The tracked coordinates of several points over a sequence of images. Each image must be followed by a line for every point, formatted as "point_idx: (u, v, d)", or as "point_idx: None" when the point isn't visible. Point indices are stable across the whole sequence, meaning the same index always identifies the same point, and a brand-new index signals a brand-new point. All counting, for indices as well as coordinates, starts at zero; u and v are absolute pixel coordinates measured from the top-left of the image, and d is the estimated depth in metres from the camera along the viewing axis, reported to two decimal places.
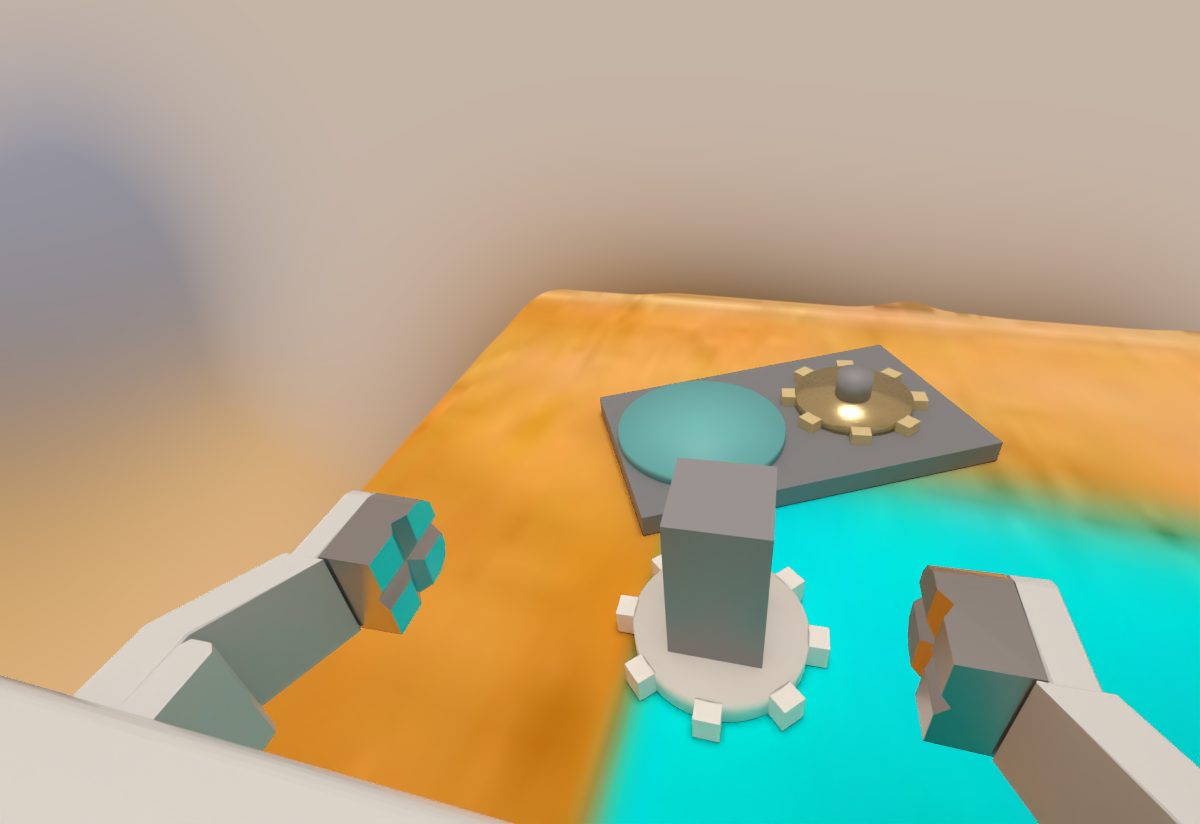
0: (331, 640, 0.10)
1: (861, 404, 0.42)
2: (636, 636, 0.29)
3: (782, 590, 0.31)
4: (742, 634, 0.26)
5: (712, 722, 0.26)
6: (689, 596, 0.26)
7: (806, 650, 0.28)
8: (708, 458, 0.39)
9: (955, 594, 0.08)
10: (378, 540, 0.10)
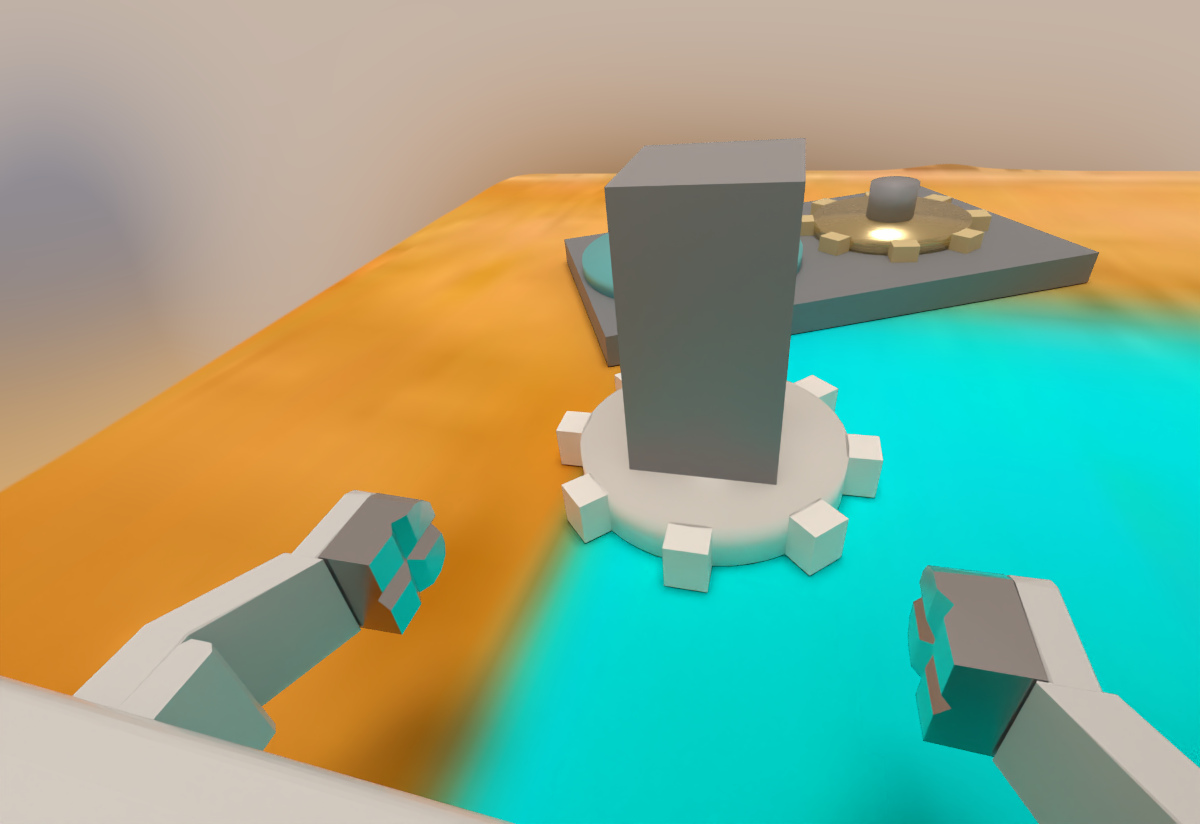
0: (331, 640, 0.10)
1: (902, 222, 0.32)
2: (583, 454, 0.19)
3: (804, 398, 0.21)
4: (746, 417, 0.16)
5: (695, 552, 0.16)
6: (659, 346, 0.16)
7: (845, 462, 0.18)
8: None
9: (955, 594, 0.08)
10: (378, 540, 0.10)
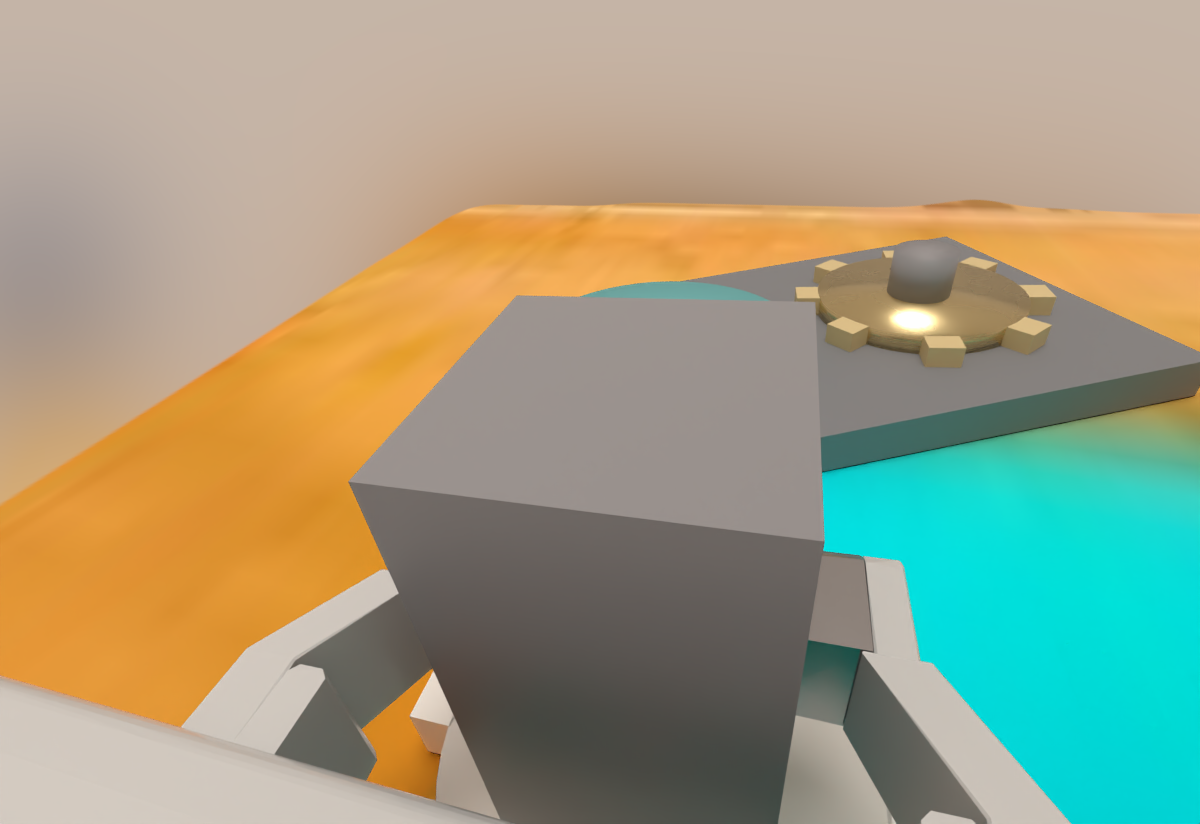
0: (426, 661, 0.09)
1: (936, 304, 0.24)
2: (440, 786, 0.11)
3: None
4: None
5: None
6: (525, 724, 0.08)
7: None
8: None
9: None
10: None
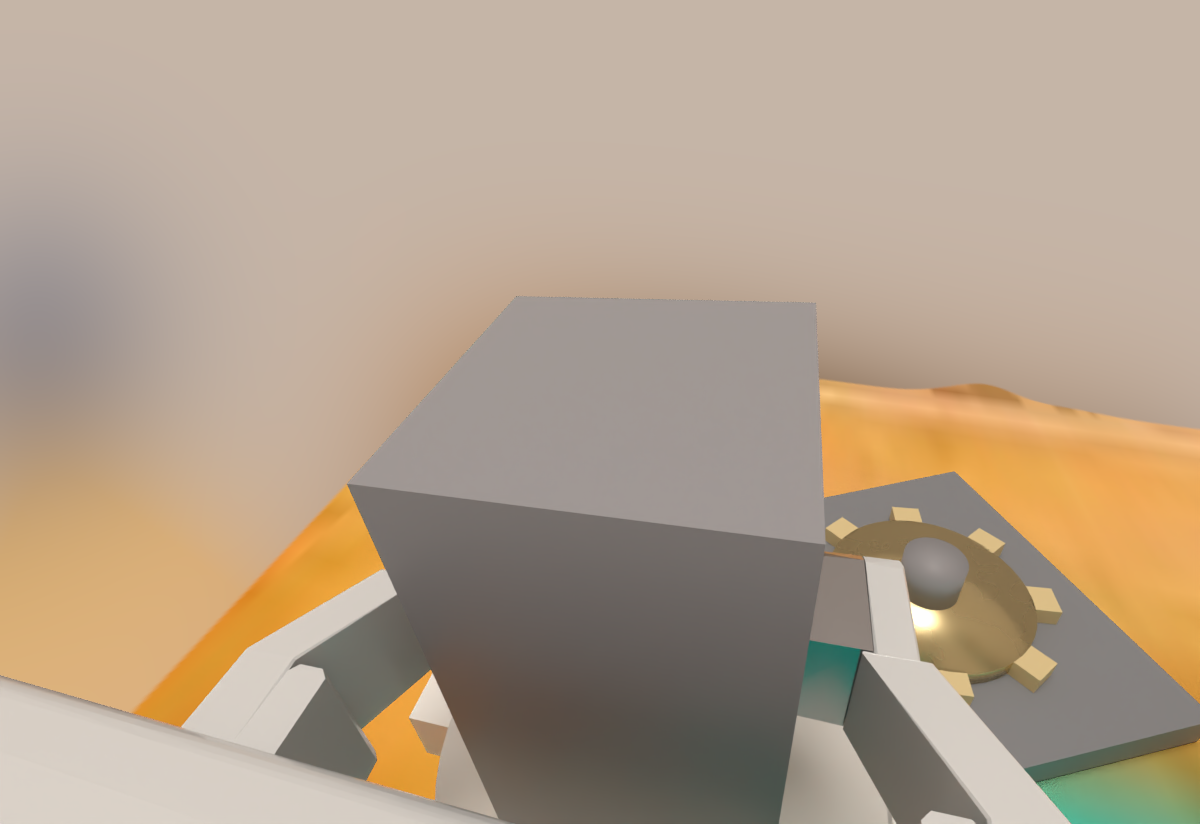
0: (426, 661, 0.09)
1: (945, 613, 0.25)
2: (440, 787, 0.11)
3: None
4: None
5: None
6: (525, 727, 0.08)
7: None
8: None
9: None
10: None
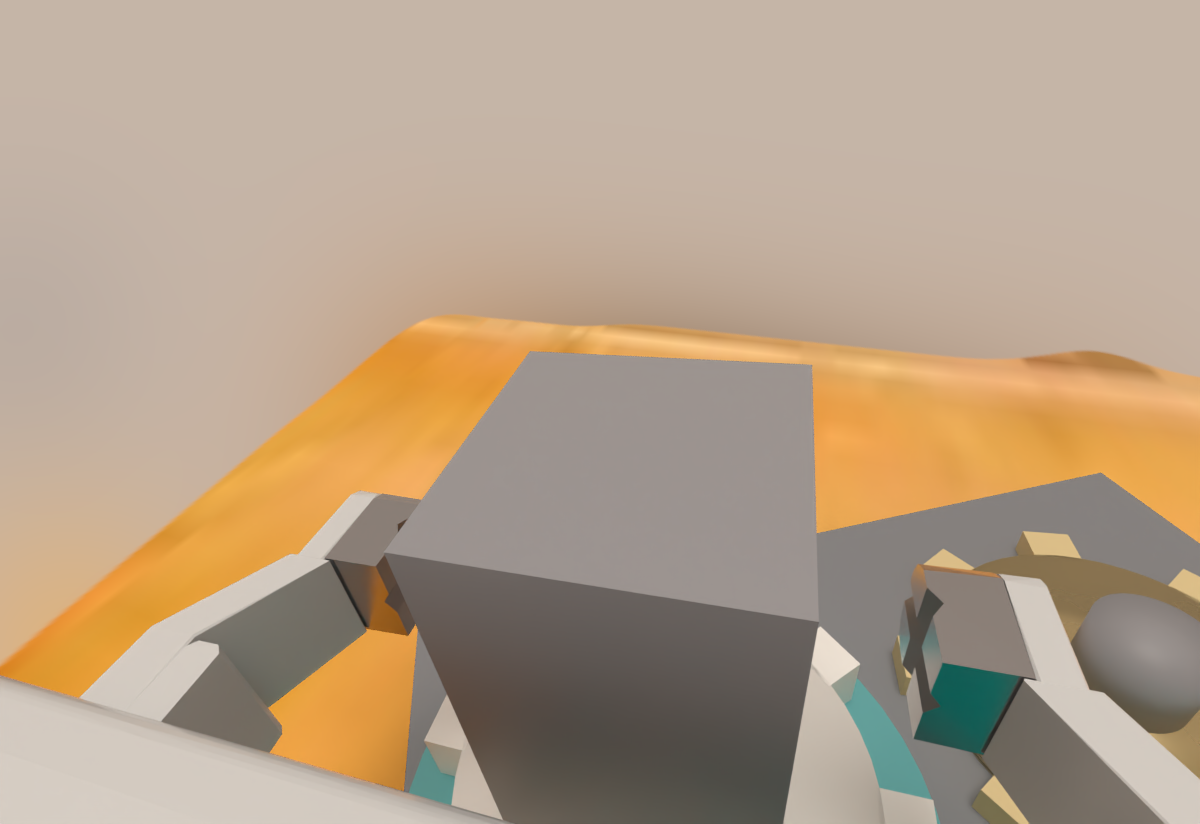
0: (337, 642, 0.10)
1: (1176, 740, 0.13)
2: None
3: (808, 686, 0.13)
4: None
5: None
6: (541, 763, 0.08)
7: None
8: None
9: (944, 593, 0.08)
10: (384, 541, 0.10)
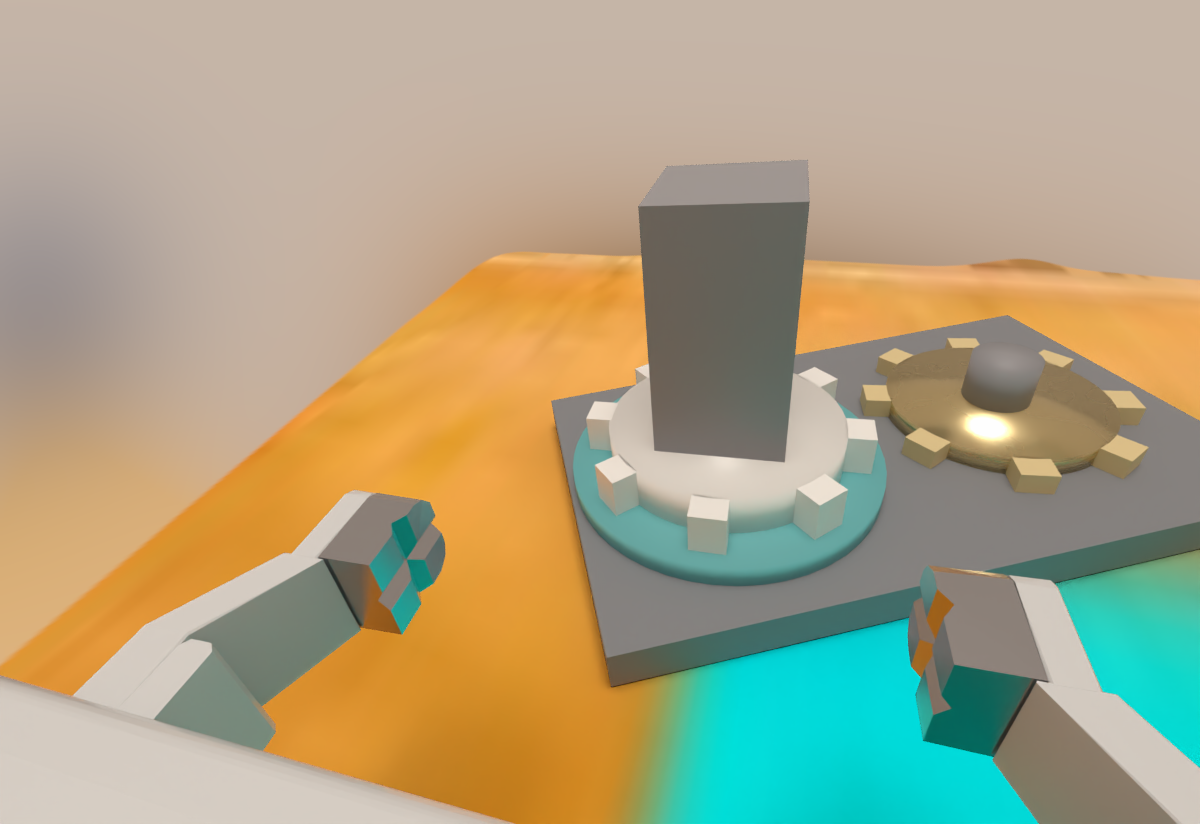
0: (331, 640, 0.10)
1: (1018, 414, 0.23)
2: (612, 438, 0.22)
3: (807, 388, 0.23)
4: (758, 402, 0.19)
5: (716, 519, 0.18)
6: (683, 341, 0.18)
7: (845, 442, 0.20)
8: None
9: (955, 594, 0.08)
10: (378, 540, 0.10)
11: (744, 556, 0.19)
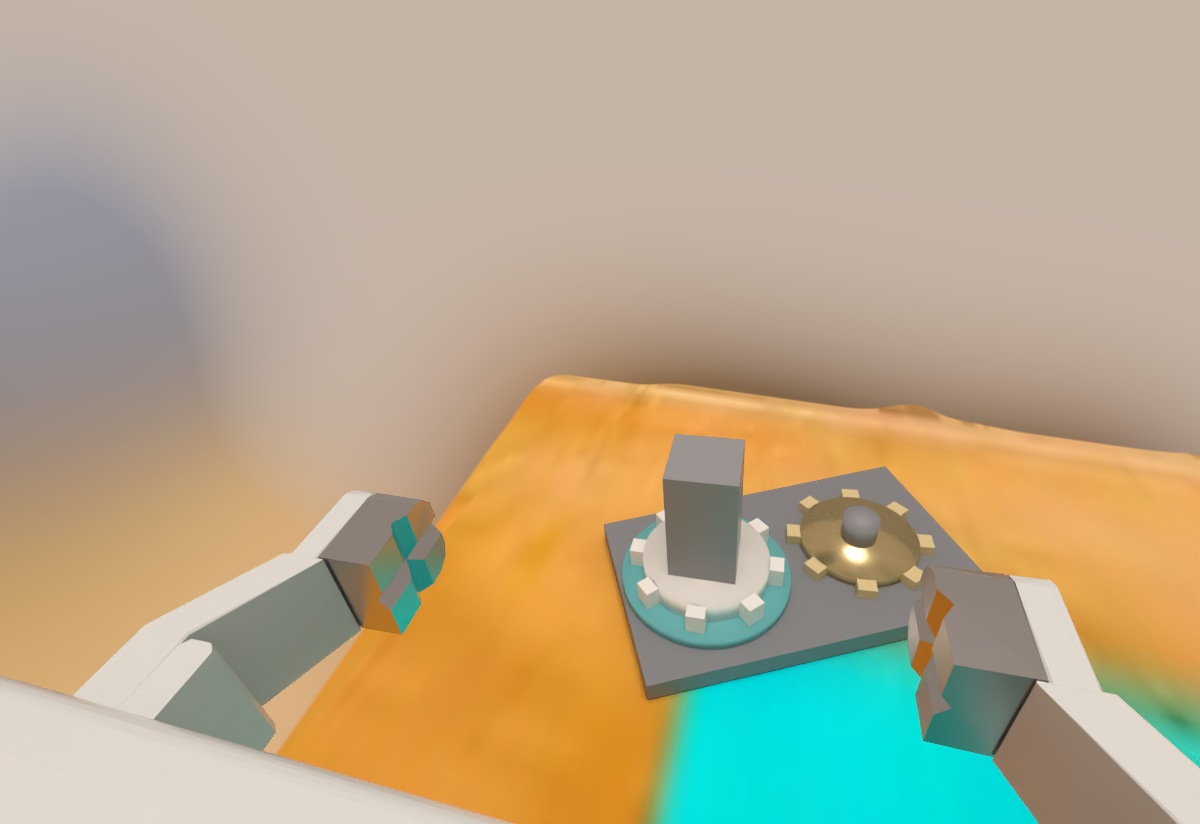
0: (331, 640, 0.10)
1: (867, 549, 0.42)
2: (645, 565, 0.41)
3: (751, 533, 0.42)
4: (720, 558, 0.37)
5: (699, 618, 0.37)
6: (683, 530, 0.37)
7: (767, 572, 0.39)
8: None
9: (955, 594, 0.08)
10: (378, 540, 0.10)
11: (713, 635, 0.37)
